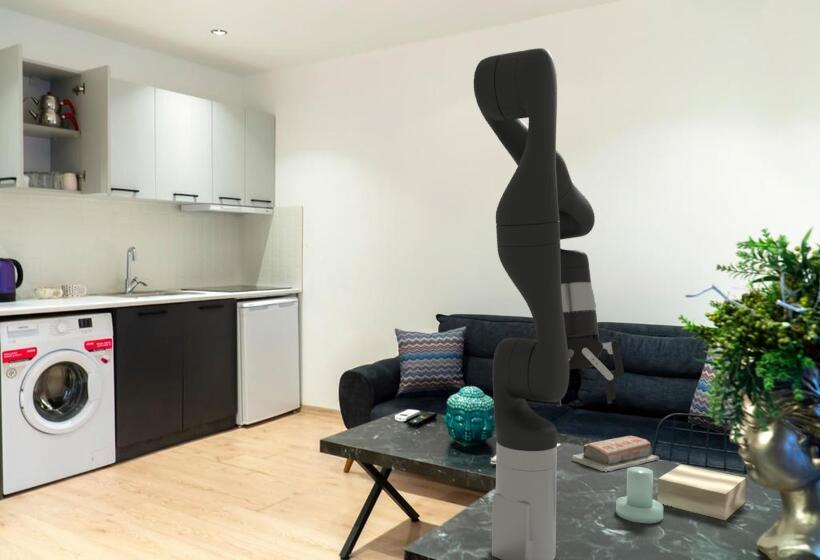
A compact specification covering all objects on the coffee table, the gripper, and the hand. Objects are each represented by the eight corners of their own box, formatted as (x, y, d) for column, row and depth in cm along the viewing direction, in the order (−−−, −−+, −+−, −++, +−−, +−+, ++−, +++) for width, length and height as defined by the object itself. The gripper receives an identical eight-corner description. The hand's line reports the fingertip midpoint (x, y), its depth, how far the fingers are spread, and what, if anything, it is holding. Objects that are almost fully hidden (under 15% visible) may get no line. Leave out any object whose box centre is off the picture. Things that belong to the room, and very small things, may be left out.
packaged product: (624, 431, 159) (659, 441, 151) (624, 451, 159) (659, 462, 151) (571, 441, 149) (606, 452, 141) (571, 462, 150) (605, 474, 141)
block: (725, 522, 115) (725, 494, 115) (657, 504, 123) (657, 478, 123) (745, 503, 124) (745, 477, 124) (680, 488, 132) (681, 464, 132)
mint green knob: (652, 527, 112) (652, 481, 112) (608, 515, 117) (608, 470, 117) (670, 514, 118) (671, 470, 118) (627, 503, 123) (628, 461, 123)
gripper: (530, 313, 113) (540, 408, 111) (616, 304, 109) (628, 403, 107) (534, 316, 120) (544, 405, 118) (615, 308, 116) (626, 400, 114)
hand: (584, 404), depth 112 cm, fingers open, 8 cm apart
